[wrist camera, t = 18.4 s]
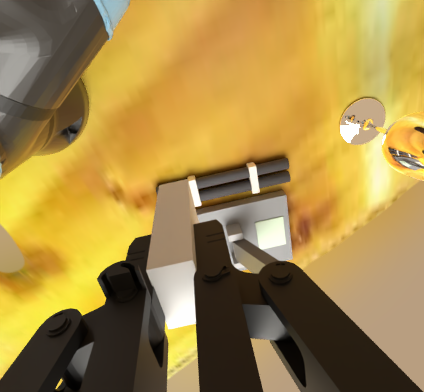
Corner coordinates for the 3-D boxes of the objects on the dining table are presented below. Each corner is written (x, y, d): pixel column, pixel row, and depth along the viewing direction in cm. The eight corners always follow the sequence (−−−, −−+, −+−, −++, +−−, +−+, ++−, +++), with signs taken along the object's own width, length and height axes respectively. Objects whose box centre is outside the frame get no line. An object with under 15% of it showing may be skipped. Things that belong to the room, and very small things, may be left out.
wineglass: (395, 109, 48) (522, 144, 30) (365, 152, 51) (465, 207, 33) (357, 88, 46) (470, 112, 28) (328, 134, 49) (414, 182, 31)
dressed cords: (163, 208, 52) (163, 214, 50) (155, 183, 50) (155, 188, 48) (287, 180, 52) (291, 185, 50) (284, 154, 50) (288, 158, 48)
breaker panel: (190, 275, 59) (190, 294, 54) (171, 215, 53) (170, 230, 48) (289, 252, 59) (298, 270, 54) (282, 190, 53) (292, 203, 48)
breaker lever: (231, 258, 53) (284, 299, 43) (227, 240, 51) (281, 278, 41) (242, 251, 54) (297, 289, 44) (239, 233, 52) (295, 269, 42)
